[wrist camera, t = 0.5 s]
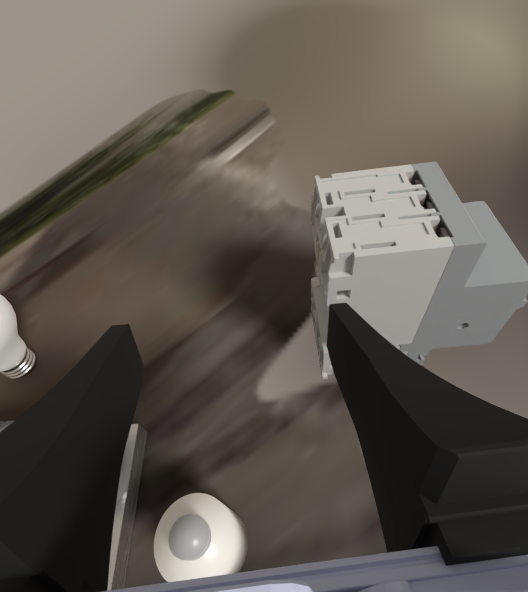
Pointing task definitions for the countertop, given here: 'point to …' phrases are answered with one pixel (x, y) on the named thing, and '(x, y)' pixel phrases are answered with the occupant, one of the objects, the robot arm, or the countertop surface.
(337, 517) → the countertop surface
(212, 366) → the countertop surface
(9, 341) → the light bulb
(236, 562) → the white bottle
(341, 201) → the circuit breaker
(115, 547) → the white rectangular base assembly
